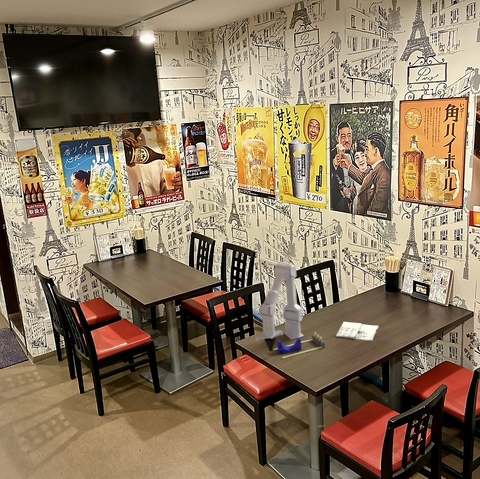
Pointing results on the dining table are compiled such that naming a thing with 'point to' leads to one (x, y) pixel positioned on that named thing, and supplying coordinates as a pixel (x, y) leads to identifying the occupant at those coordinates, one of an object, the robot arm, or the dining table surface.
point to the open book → (352, 331)
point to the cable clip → (289, 347)
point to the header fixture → (314, 338)
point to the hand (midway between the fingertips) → (270, 350)
